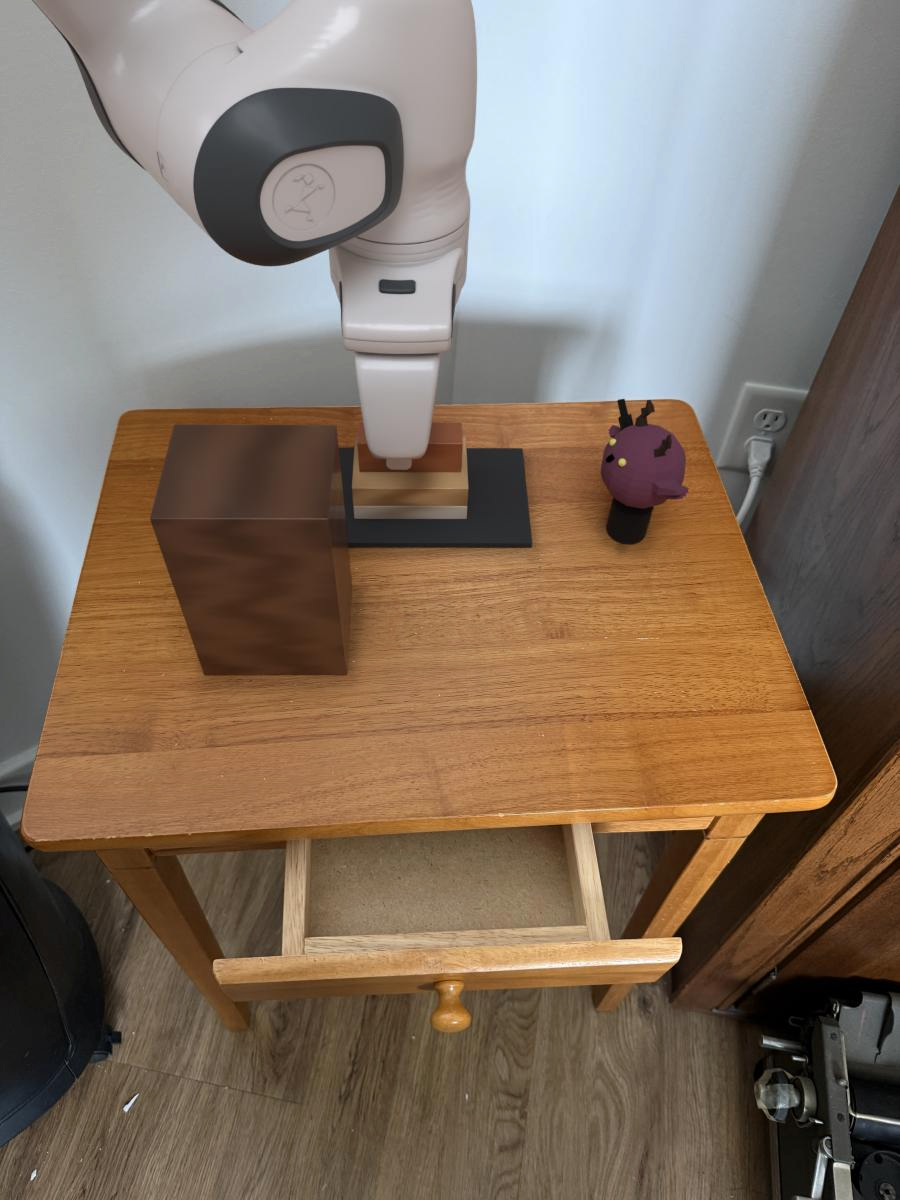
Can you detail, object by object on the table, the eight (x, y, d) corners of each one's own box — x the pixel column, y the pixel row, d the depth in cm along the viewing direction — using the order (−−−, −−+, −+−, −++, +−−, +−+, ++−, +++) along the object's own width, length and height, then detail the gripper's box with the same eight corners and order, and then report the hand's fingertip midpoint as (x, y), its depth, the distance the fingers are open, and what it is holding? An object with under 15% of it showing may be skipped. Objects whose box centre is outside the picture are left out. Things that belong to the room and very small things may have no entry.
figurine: (600, 482, 75) (626, 365, 66) (691, 515, 73) (730, 399, 64) (563, 543, 71) (584, 428, 62) (658, 581, 69) (695, 467, 59)
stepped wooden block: (354, 519, 71) (349, 459, 66) (357, 467, 75) (352, 406, 70) (466, 519, 72) (470, 459, 66) (464, 467, 75) (467, 407, 70)
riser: (203, 675, 62) (149, 518, 50) (219, 587, 67) (173, 423, 55) (346, 675, 63) (328, 519, 50) (352, 587, 68) (336, 424, 55)
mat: (278, 547, 70) (277, 542, 69) (290, 451, 77) (290, 446, 76) (531, 547, 71) (532, 542, 70) (521, 453, 77) (522, 447, 77)
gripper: (355, 169, 63) (362, 336, 74) (340, 346, 50) (352, 516, 61) (444, 171, 63) (439, 337, 74) (452, 348, 50) (444, 517, 61)
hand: (399, 420), depth 67 cm, fingers open, 8 cm apart
